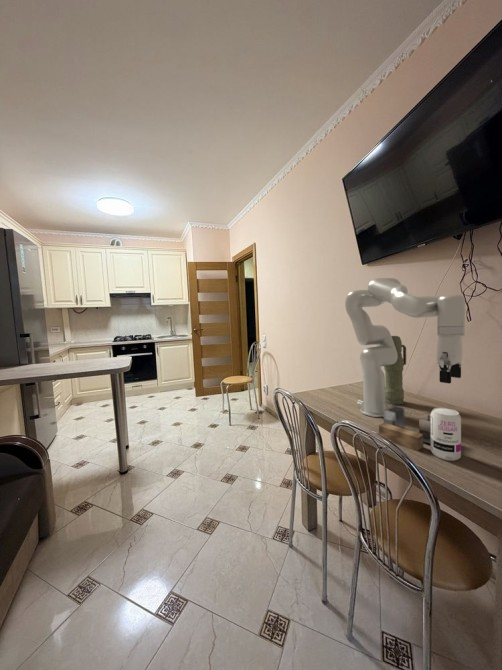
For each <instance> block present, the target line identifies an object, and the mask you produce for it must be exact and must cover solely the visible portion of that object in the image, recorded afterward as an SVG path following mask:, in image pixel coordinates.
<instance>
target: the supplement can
mask: <svg viewBox="0 0 502 670" xmlns="http://www.w3.org/2000/svg"><path fill="white" fill-rule="evenodd" d="M430 415H431V444H430V451H431V453H432V454H433V455H434V456H435V457H436V458H439V459H442V460H445V461H452V462H455V461H458V460H459V459H460V458H462V416H461V415H460V413H459V412H458V411H457V410H455V409H452V408H447V407H435V408H433V409H432V410H431V412H430Z"/></svg>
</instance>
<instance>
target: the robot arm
mask: <svg viewBox="0 0 502 670" xmlns="http://www.w3.org/2000/svg"><path fill="white" fill-rule="evenodd" d="M465 301H466V300H465V297H464V295H461V294H451V295H449V294H448V295H441V296H439V295H438V296H437V295H432V296H430V295H429V296H416V295H412V294H410V293H409V292H408V288H407V287H406V286H405V285H404V284H402V283H401V281H399V280H398V279H397V278H394V277H378V278H377V277H376V278H374V279H372V280H371V281H370V282H369V283H368V285H367V289H358V290H357V289H355V290H353V291H351V292H349V293H348V294H347V295H346V297H345V303H344V304H345V305H344V306H345V311H346V313H347V315H348V317H349V320H350V321H351V323H352V327H353V330H354V334H355V336H356V340H357V342H358V343H359V345H361V346H370V347H367V348H364V349H363V350H362V351H361V352H360V355H359V358H360V359H359V360H360V364H361V369H362V391H363V394H362V395H363V400H361V399H358V400H357V403H356V405H358V406H360V409H359V411H360V413H361V414H362V415H365V416H368V417H373V418H382V417H383V418H384V410H385V409H387V408H386V402H385V387H386V382H385V373H384V371H383V369H382V367H384V366H387V365H392V364H394V363H395V362H396V361H397V358H398V355H397V350H396V348H395V345H394V342H393V339H392V337H391V336H392V335H391V332H390V330H389V329H388V328H387V326H384V325H382V324H375V325H374V324H373V323H372V321H371V318H370V315H369V314H368V313H367V311H365V310H364V308H371V307H378V306H380V305H383V304H384V303H389V304H391V305H392V307H393V308H394V309H395V310H396V311H397V312H398V313H401V314H403V315H406V316H408V317H411V318H433V317H437V320H436V321H437V322H436V323H437V325H436V327H437V328H436V331H437V332H436V333H437V334H436V335H437V336H438V339H437V345H436V346H437V347H436V364H438V367H439V368H438V369H439V382H440V383H444V384H451V383H452V378H455V379H461V377H462V362H461V361H462V360H463V340H462V337H464V336H465V325H466V324H465V321H466V320H465V314H466V313H465V311H466V309H465V307H466V305H465V304H466V302H465ZM374 345H375V346H374Z"/></svg>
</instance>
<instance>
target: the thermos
mask: <svg viewBox="0 0 502 670" xmlns="http://www.w3.org/2000/svg"><path fill="white" fill-rule="evenodd" d="M391 337H392V339H393V342H394V345H395V348H396V350H397V355H398V358H397V361H396V362H395V363H394V364H392V365H387V366H383V369H384V371H385V373H384V376H385V404H388V405H391V404H392V405H391V406H401V404H402V405H404V398H405V390H404V387H403V383H404V382H403V372H404V366H406V365H407V347H406V345H405V344H403V343H402V342H403V341H402V339H401V337H400V336H398V335H391Z"/></svg>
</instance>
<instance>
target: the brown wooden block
mask: <svg viewBox="0 0 502 670" xmlns="http://www.w3.org/2000/svg"><path fill="white" fill-rule="evenodd" d="M404 428H405V427H404ZM404 428H401V427H397V426H394V425H391V424H387V423H384V422H383V423H381V424H379V425H378V435H379V434H381V435H383V436H384V437H386V438H387V439H389V440H391V441H392V442H391V441H390V442H391V443H395V444H397V445H400V446H402V447H406V448H407V449H411V450H414V451H416V452H419V451H420V450H422V449H423V448H424V442H423V434H420V433H417V432H418V431H417V432H414V431H415V430H414V431H410V430H411V429H410V430H407V429H408V428H407V429H404Z"/></svg>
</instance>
